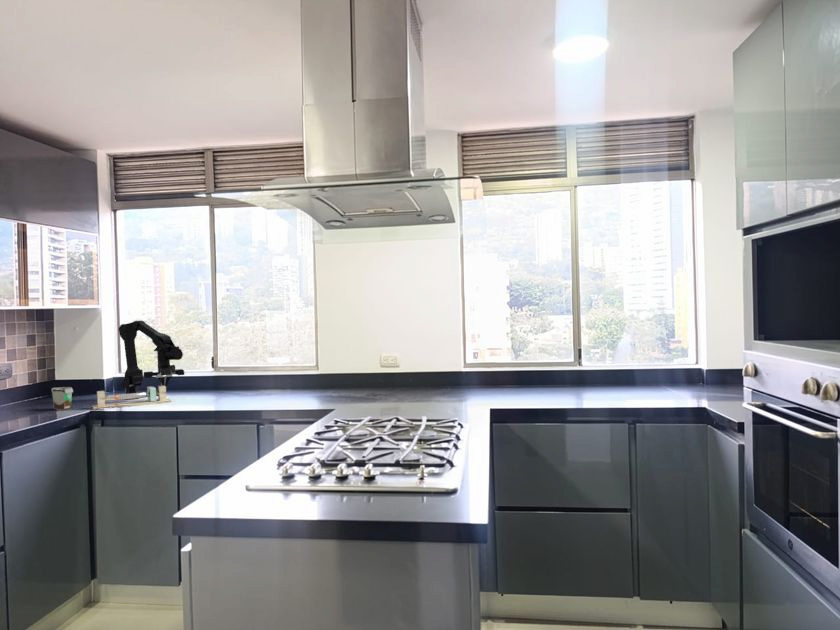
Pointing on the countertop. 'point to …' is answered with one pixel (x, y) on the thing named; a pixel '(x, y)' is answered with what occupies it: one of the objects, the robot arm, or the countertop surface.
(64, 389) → the food container
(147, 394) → the pipe
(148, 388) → the collar
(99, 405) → the beige cradle stand
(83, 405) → the countertop surface
